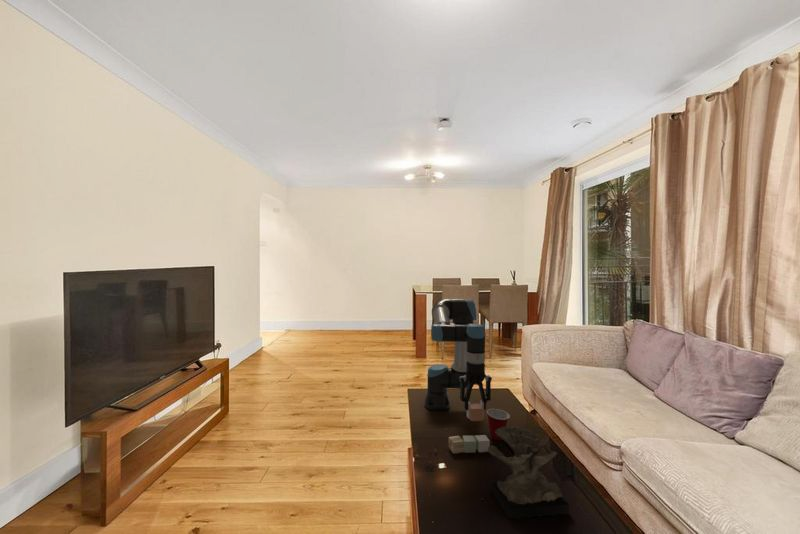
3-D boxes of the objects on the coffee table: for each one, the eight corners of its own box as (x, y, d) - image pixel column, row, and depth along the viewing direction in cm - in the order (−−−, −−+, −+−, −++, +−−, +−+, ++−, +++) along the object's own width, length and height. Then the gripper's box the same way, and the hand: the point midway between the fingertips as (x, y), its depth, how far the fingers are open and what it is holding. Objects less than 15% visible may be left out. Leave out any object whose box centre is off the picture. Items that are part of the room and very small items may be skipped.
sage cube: (462, 446, 153) (462, 435, 153) (473, 446, 153) (473, 435, 153) (464, 452, 148) (464, 441, 148) (475, 452, 148) (475, 441, 148)
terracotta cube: (467, 415, 141) (467, 403, 141) (478, 415, 142) (479, 403, 142) (470, 421, 136) (471, 409, 136) (482, 420, 137) (483, 408, 137)
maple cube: (448, 447, 152) (448, 436, 151) (458, 446, 153) (458, 435, 153) (453, 453, 147) (453, 442, 147) (463, 452, 148) (463, 441, 148)
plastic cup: (511, 444, 155) (511, 418, 155) (487, 442, 156) (487, 417, 156) (507, 432, 165) (507, 408, 165) (485, 431, 167) (485, 407, 167)
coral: (497, 520, 109) (498, 455, 109) (477, 479, 129) (478, 424, 129) (570, 515, 111) (571, 451, 111) (539, 477, 131) (540, 422, 131)
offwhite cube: (474, 446, 153) (474, 435, 153) (484, 445, 154) (484, 434, 154) (478, 452, 148) (479, 441, 148) (489, 451, 149) (489, 440, 149)
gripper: (456, 364, 134) (456, 422, 135) (500, 364, 136) (499, 420, 136) (452, 359, 142) (451, 413, 142) (493, 358, 143) (492, 412, 144)
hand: (475, 417), depth 139 cm, fingers closed on terracotta cube, 5 cm apart
